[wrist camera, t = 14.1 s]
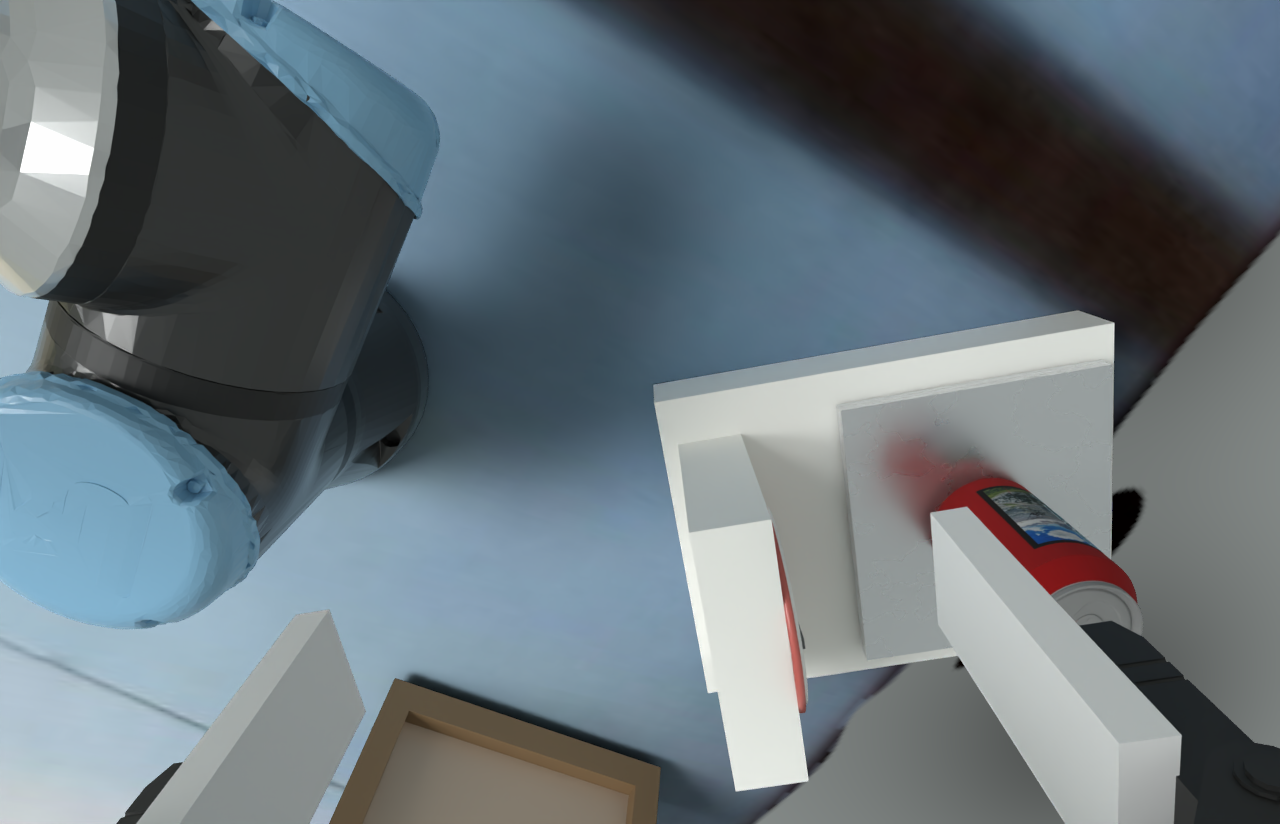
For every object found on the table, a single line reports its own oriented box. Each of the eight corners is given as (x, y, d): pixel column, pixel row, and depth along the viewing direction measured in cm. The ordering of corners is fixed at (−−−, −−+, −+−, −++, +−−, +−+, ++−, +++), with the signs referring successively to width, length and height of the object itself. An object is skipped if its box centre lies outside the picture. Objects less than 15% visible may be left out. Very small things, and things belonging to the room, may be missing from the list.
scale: (703, 658, 58) (727, 849, 42) (653, 384, 51) (658, 487, 35) (1078, 600, 56) (1253, 777, 40) (1078, 310, 49) (1288, 382, 33)
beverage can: (1056, 520, 48) (1187, 632, 36) (971, 587, 49) (1071, 715, 38) (989, 450, 46) (1104, 545, 35) (904, 522, 48) (987, 635, 36)
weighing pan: (862, 649, 52) (867, 660, 51) (835, 404, 47) (840, 410, 46) (1099, 613, 51) (1109, 624, 50) (1101, 359, 46) (1112, 364, 45)
